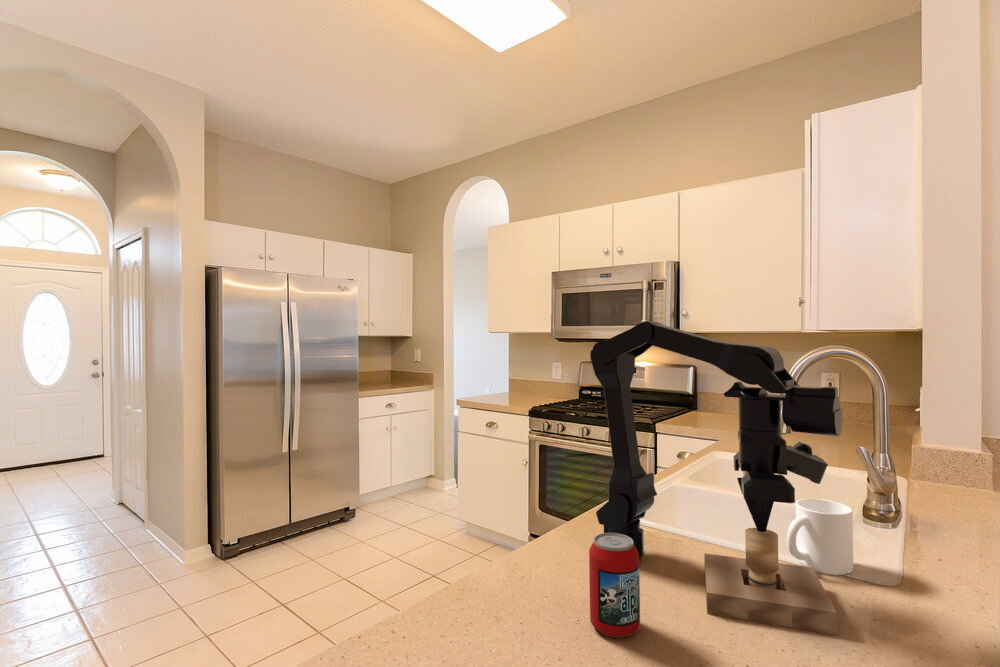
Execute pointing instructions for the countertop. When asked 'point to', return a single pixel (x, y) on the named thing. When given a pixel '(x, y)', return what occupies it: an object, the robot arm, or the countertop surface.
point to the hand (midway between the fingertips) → (761, 531)
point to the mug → (822, 536)
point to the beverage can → (614, 585)
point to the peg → (762, 557)
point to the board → (769, 596)
